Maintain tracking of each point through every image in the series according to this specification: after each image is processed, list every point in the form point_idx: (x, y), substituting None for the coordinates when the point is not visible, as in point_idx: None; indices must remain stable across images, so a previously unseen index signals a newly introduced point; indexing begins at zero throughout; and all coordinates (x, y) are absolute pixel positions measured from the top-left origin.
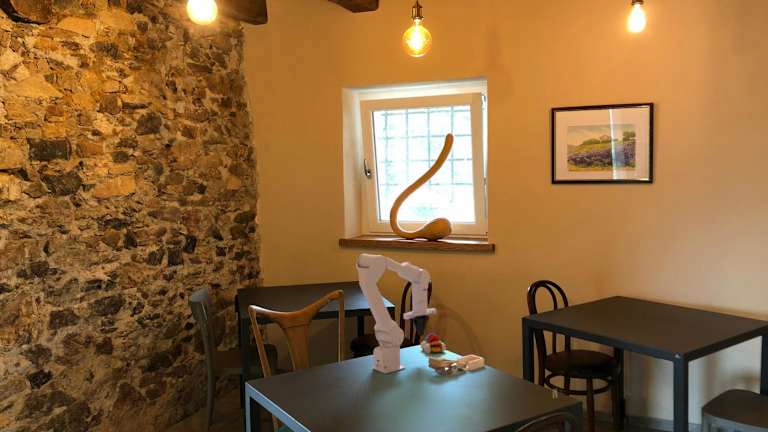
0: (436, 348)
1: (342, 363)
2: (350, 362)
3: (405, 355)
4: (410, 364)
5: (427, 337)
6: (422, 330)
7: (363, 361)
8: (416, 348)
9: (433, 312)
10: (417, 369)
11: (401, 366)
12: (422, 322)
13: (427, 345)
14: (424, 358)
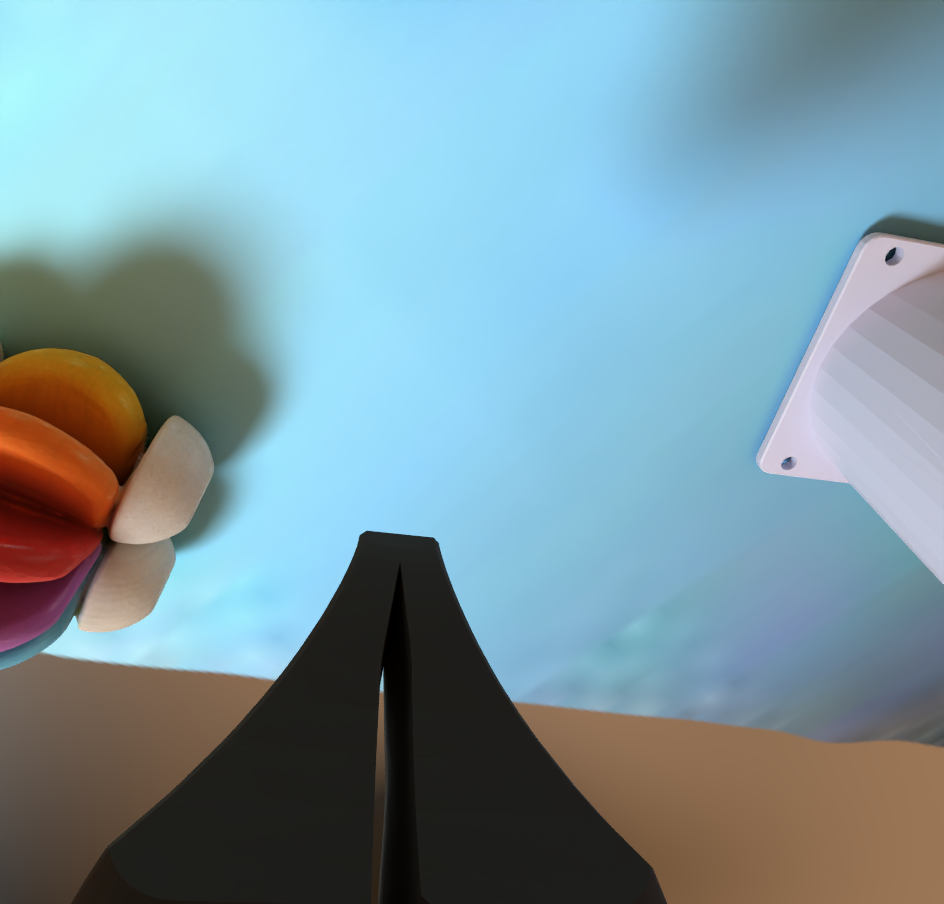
0: (75, 383)
1: (926, 720)
2: (878, 703)
3: None
4: (666, 307)
5: (50, 622)
6: (406, 599)
7: (808, 665)
8: (170, 627)
9: None
10: (812, 77)
11: (861, 296)
12: (455, 787)
13: (165, 496)
14: (361, 343)
